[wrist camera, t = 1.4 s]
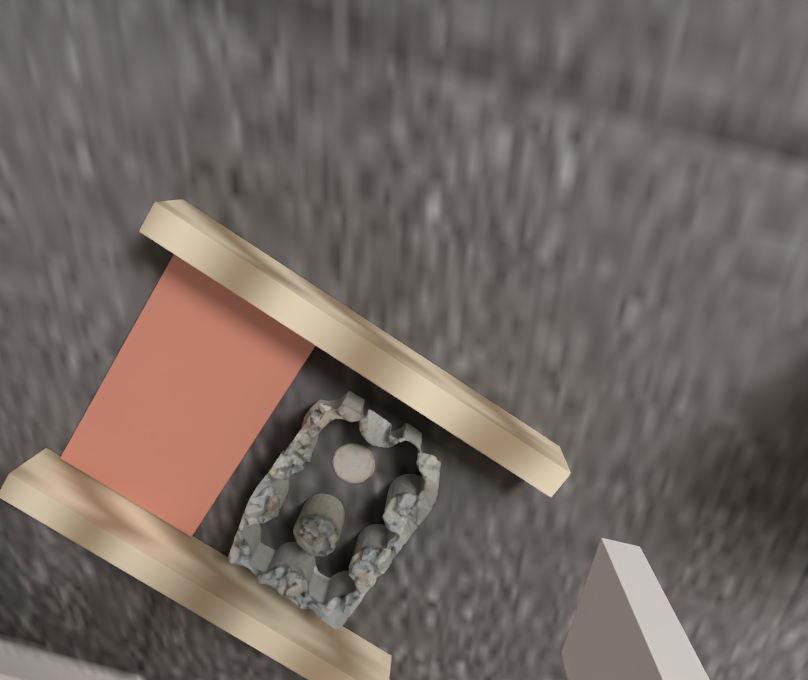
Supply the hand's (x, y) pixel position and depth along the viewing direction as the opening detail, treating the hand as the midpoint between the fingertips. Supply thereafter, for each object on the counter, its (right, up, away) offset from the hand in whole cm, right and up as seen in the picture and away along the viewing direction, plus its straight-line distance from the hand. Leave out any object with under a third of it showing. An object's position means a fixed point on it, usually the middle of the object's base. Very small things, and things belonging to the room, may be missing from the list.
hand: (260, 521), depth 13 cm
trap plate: (-8, +1, +20) cm, 22 cm away
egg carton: (0, -4, +22) cm, 22 cm away
